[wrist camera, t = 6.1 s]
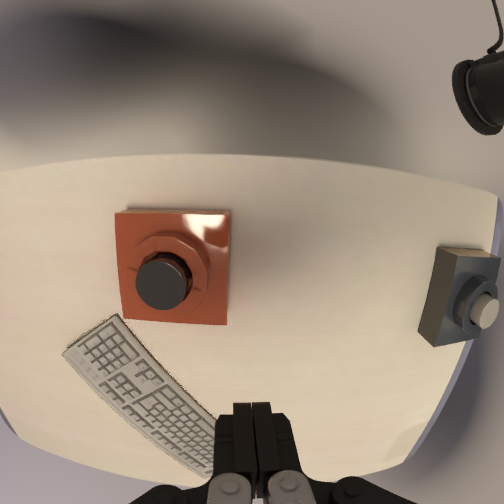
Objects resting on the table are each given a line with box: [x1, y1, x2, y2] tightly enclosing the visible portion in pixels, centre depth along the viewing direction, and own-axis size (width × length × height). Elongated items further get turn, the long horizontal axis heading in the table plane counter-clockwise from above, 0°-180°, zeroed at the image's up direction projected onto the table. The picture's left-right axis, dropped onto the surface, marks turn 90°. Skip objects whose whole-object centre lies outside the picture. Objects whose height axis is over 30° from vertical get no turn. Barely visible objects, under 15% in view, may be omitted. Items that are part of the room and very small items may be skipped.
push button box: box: [418, 247, 501, 347], centre depth 27 cm, size 11×9×6 cm
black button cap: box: [135, 254, 190, 310], centre depth 22 cm, size 4×4×2 cm
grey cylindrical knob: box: [469, 293, 499, 329], centre depth 23 cm, size 4×4×2 cm
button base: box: [115, 209, 230, 325], centre depth 25 cm, size 10×10×5 cm
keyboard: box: [62, 315, 216, 479], centre depth 31 cm, size 29×10×2 cm, turn 32°
